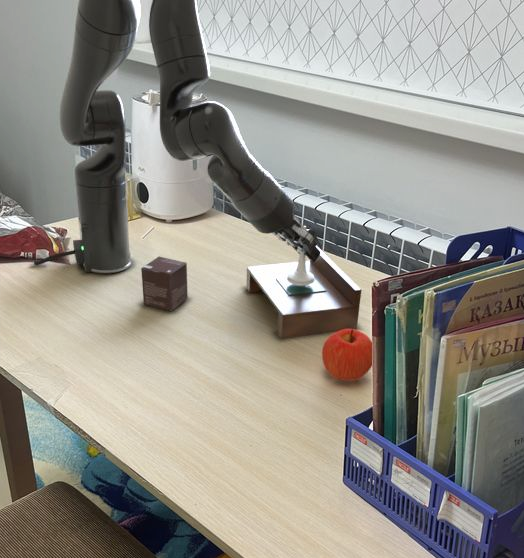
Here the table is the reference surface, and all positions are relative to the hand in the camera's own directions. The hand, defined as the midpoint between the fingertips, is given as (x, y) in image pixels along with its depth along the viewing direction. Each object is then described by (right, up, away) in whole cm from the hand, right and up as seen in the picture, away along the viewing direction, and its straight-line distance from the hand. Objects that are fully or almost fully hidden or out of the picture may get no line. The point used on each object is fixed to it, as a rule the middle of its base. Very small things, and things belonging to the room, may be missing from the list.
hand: (311, 254), depth 122 cm
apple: (+4, -21, -15) cm, 26 cm away
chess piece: (-2, -5, +1) cm, 5 cm away
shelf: (-2, -9, +4) cm, 10 cm away
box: (-26, -8, +4) cm, 28 cm away
